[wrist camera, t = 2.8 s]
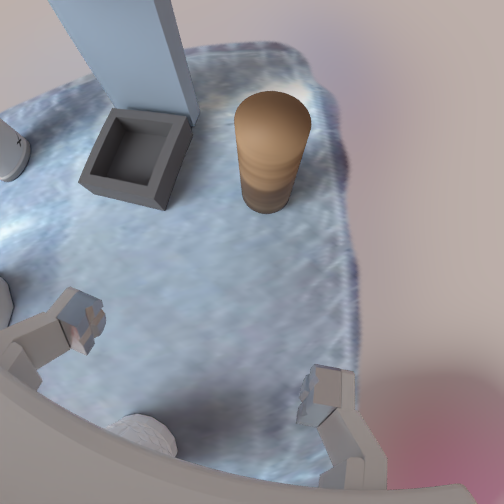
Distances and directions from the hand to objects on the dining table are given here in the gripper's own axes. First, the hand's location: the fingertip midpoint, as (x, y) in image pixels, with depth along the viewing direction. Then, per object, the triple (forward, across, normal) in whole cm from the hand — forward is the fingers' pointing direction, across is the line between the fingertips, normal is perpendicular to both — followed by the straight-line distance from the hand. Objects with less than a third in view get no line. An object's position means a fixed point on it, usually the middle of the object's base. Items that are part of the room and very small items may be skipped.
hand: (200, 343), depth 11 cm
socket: (+20, +13, +3) cm, 24 cm away
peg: (+20, 0, +3) cm, 20 cm away
